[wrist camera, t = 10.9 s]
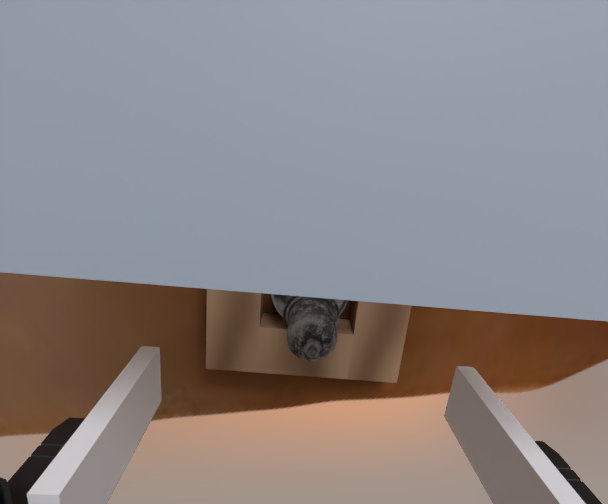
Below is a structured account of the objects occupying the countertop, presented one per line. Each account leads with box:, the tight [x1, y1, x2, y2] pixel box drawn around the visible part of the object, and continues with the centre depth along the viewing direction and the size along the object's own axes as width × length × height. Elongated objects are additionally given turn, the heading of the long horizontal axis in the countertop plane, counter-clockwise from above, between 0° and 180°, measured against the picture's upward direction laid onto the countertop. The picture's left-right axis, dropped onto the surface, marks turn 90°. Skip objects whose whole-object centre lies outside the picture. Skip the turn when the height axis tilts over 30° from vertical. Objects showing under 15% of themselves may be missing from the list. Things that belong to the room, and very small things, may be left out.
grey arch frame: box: [0, 0, 608, 321], centre depth 15 cm, size 18×8×22 cm, turn 85°
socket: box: [206, 289, 412, 383], centre depth 27 cm, size 16×20×3 cm
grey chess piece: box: [271, 294, 348, 361], centre depth 23 cm, size 6×6×12 cm
